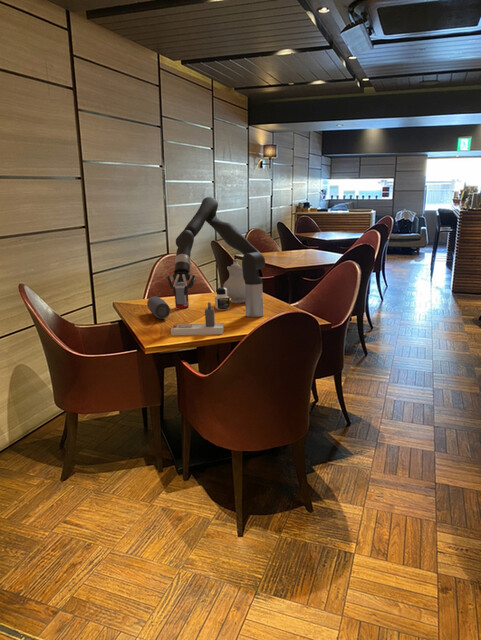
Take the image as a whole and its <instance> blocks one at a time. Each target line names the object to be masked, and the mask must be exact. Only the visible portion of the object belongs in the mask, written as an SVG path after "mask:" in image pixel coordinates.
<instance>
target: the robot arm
mask: <svg viewBox="0 0 481 640" xmlns="http://www.w3.org/2000/svg"><path fill="white" fill-rule="evenodd" d="M218 207H219V203H218V201H217V199H216V198H214V197H211V196H207V197H205V198H203V199H202V200H201V204H200V206H199V207H198V210H197V211H196V213H195V214H194V215H193V217H192V218H191V219H190V220H189V221H188V223H187V225H186V226H185V228H184V229H183V230H182V231H181V232H180V234H179V235H178V236H177V237H176V238H175V246H176V247H177V248H176V254H175V261H174V271H173V275H172V276H169V275H168V276H167V277H166V278H167V281H168V284H169V287H170V289H171V290H172V293H173V295H174V297H175V296H176V289H175V283H176V282H185V287H184V295H186V294H188V295H189V289H192V288H193V287H194V286H193V285H194V284H195V282H196V279H197V278H196V276H195V275H194V274H192V275H191V251H192V249H193V245H194V241H195V237H196V236H197V235H199V232H200V231H201V229H202V228H203V226H204V225H205V223H207V224H208V225H210V226H211V228H213V230H215V232H216V233H217V234H218V235H219V236H220V237H221V239H223V241H224V243H226V244H227V245H228V246H229V247H231V248H233V249H235V250H236V251H237V252H239V253H242V254H243V256H242V259H241V266H242V271H243V278H244V281H245V302H244V303H245V306H244V307H245V316H246V317H248V318H259V317H264V294H263V293H264V292H263V278H262V277H261V276H259V275H258V273H257V271H258V270H262V269H263V268H264V267H265V266H266V265H265V264H266V259H265V257H264V255H263V253H262V252H260V251H259V250H258V249H257V248H256V247H255V246H253V245H252V244H251V242H250V241H248V240H247V238H245V236H244V235H243V234H242V233H241V232H240V231H239V230H238V228H237V227H236V226H235V225H234V224H232V223H231V222H227V221H223V220H221V219H220V218H219V217H218V215H217V212H218ZM173 280H174V283H172V282H173ZM189 280H190V281H189ZM188 281H189V283H188Z"/></svg>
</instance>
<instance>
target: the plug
mask: <svg viewBox="0 0 481 640" xmlns="http://www.w3.org/2000/svg"><path fill="white" fill-rule="evenodd" d="M184 287H185V282H176V283H175V289H176V301H177V304H186V295H184Z"/></svg>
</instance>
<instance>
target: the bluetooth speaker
mask: <svg viewBox="0 0 481 640" xmlns="http://www.w3.org/2000/svg"><path fill="white" fill-rule="evenodd" d="M146 306H147V308H148V310H149V312H151V313H152V315H154V317H155V318H157V319H159V320H160V319H167V318H168V317H169V316H170V315H171V307H170V305H169V304H168V302H166V301H165V300H164V299H163V298H161V297H159V296H156V295H155V296H151V297H149V298H148V300H147V302H146Z"/></svg>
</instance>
